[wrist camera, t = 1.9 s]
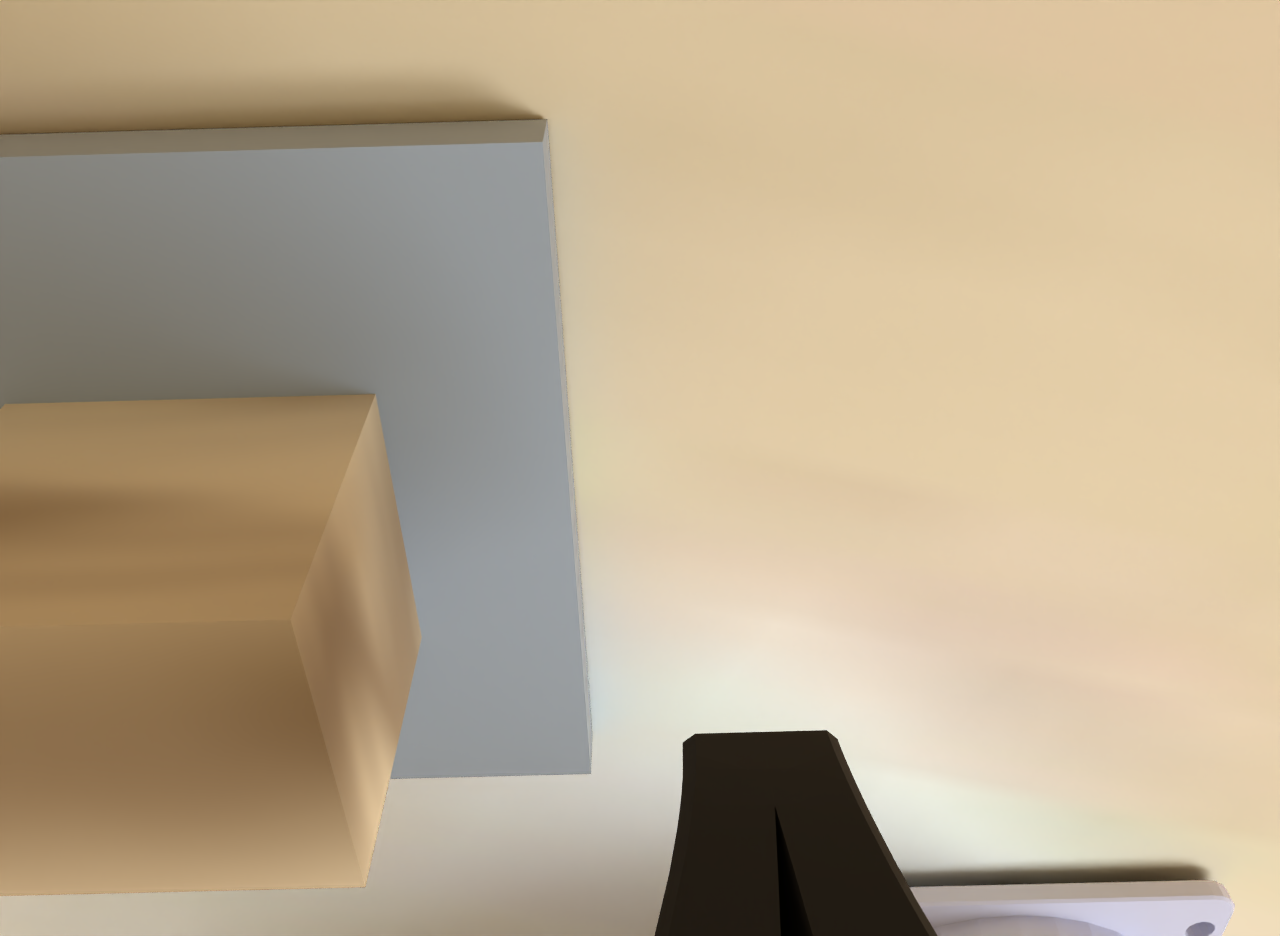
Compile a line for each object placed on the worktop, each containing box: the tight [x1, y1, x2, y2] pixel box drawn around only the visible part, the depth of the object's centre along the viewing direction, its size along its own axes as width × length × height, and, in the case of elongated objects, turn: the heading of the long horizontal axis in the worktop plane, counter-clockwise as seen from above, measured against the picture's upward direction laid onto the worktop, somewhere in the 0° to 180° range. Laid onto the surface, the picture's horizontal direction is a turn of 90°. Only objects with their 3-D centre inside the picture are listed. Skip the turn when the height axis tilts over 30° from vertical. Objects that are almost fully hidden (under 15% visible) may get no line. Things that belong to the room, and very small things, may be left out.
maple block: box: [0, 394, 422, 896], centre depth 13 cm, size 4×4×4 cm
